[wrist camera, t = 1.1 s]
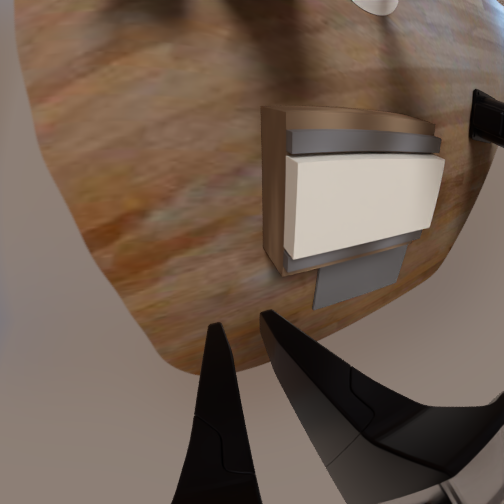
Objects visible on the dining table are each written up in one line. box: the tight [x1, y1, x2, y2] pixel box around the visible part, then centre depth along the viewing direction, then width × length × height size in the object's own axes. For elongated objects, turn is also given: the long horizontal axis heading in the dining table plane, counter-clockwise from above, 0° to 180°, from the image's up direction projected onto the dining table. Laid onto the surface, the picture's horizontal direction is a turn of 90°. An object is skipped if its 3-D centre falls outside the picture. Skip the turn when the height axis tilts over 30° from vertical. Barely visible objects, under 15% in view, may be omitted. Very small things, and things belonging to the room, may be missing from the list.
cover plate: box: [284, 152, 445, 260], centre depth 17 cm, size 13×6×2 cm, turn 92°
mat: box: [312, 244, 408, 310], centre depth 28 cm, size 12×8×1 cm, turn 92°
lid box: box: [261, 106, 441, 277], centre depth 19 cm, size 13×11×5 cm
